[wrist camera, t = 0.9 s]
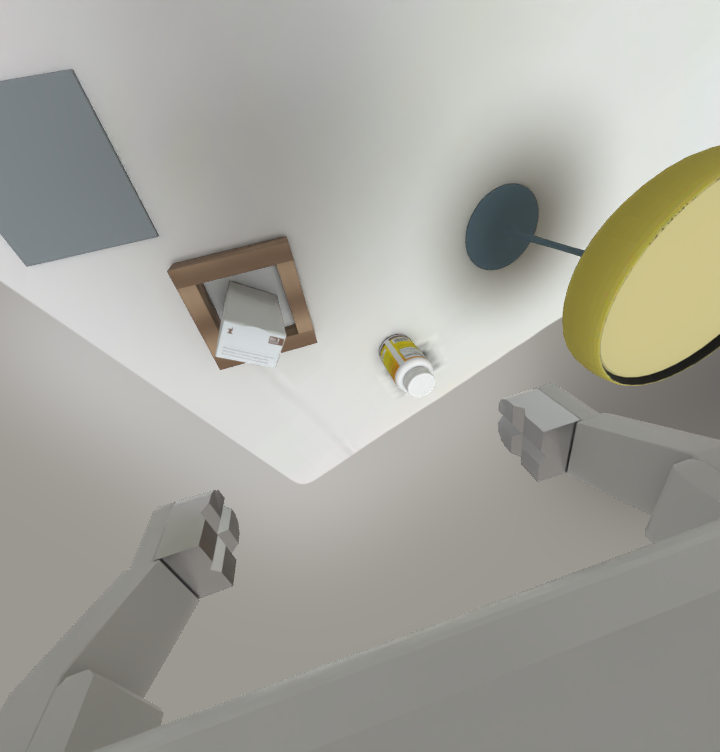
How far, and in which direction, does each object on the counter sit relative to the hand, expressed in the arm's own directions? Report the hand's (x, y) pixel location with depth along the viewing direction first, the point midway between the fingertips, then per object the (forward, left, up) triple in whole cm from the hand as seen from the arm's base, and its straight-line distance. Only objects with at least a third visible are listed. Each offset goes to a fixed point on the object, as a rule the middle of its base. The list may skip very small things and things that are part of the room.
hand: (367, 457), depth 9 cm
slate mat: (-9, -20, -35) cm, 41 cm away
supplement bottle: (+20, +11, -35) cm, 42 cm away
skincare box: (+7, -7, -35) cm, 36 cm away
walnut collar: (+7, -7, -35) cm, 36 cm away
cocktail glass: (+6, +28, -35) cm, 46 cm away
